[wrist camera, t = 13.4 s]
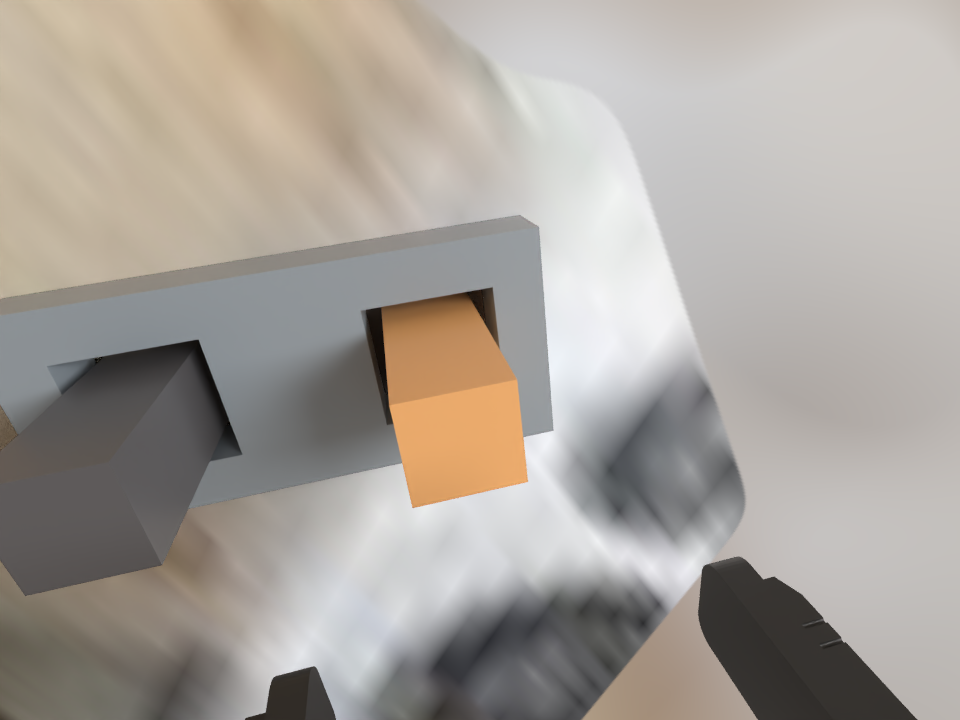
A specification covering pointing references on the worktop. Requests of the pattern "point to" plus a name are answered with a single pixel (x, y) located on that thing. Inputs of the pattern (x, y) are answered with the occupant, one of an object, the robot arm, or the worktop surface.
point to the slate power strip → (226, 387)
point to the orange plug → (451, 400)
